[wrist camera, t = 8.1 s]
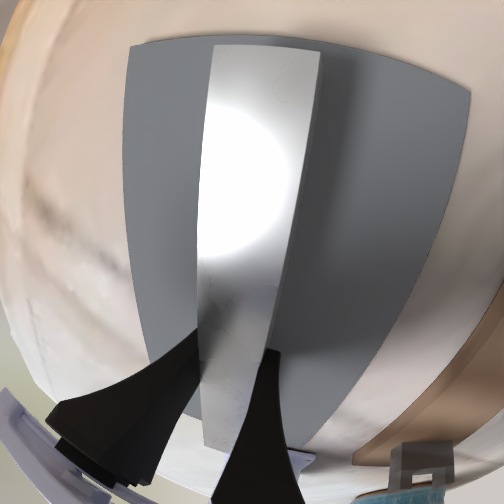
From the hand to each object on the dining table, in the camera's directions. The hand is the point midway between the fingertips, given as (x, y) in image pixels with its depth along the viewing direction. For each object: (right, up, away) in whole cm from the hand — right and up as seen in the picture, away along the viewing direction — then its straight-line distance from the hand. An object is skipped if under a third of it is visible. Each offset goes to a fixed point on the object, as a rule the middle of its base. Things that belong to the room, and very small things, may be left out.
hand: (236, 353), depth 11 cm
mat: (0, +1, +1) cm, 2 cm away
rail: (0, 0, +1) cm, 1 cm away
